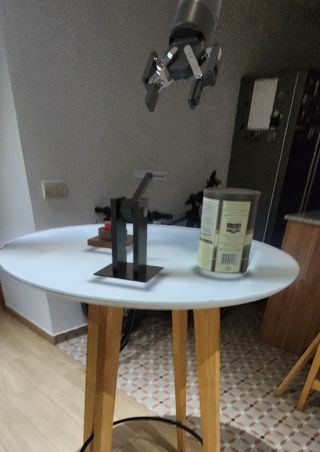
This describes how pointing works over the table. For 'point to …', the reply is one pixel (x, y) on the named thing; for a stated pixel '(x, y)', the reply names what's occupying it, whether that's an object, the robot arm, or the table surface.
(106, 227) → the button
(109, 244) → the block
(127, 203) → the lever
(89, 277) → the table surface
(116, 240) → the bracket
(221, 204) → the coffee can
